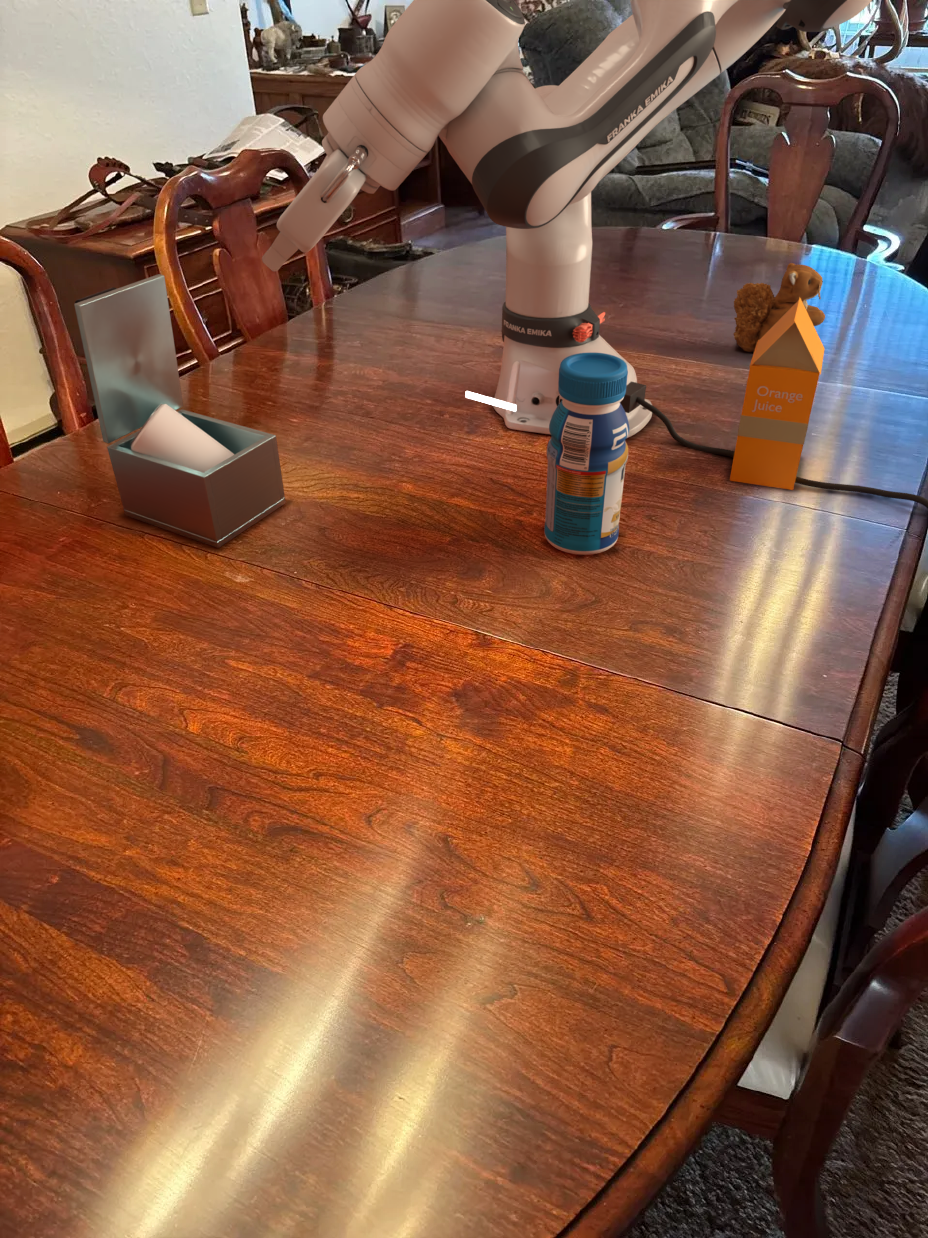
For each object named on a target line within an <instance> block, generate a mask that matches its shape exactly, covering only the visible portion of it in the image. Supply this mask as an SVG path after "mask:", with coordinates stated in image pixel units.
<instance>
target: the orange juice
mask: <svg viewBox="0 0 928 1238" xmlns="http://www.w3.org/2000/svg"><path fill="white" fill-rule="evenodd" d="M815 327H816V326H814V325H813V323H812V321H811V319H810V317H809V315H808V313H807V311H806V309H805V307H804V305H803V302H802V300H801V298H799V300H798V301H797V302H796V303H795V304H794V305H793V306H792V307H791V308H790V309H789V310H788V311H787V312H786V313H785V314H784V315H783V316H782V317H781V319H780V320H779V321H778V322H777V323H776V324H775V325H774V326H773V327H772V328H771V329H770V330H769V331H768V332H767V333H766V334H765V335H764V336H763V337H762V338H761V339H760V340H758V342H757V344H756V347H755V350H754V351H753V354H752V356H751V360H750V363H749V369H748V375H747V379H746V382H745V383H746V384H745V385H746V386H745V392H744V398H743V403H742V409H741V414H740V417H739V418H740V419H739V424H738V429H737V436H736V442H735V447H734V451H735V453H734V457H733V459H732V465H731V471H730V475H729V481H731V482H738V483H744V484H749V485H756V486H762V487H763V486H764V487H770V488H776V489H784V490H789V491H790V490H791V491H794V488H795V484H796V483H795V480H796V476H797V474H798V471H799V466H800V462H801V458H802V454H803V453H802V452H803V448H804V445H805V441H806V436H807V433H808V428H809V425H810V424H809V423H810V417H811V413H812V410H813V406H814V403H815V397H816V396H817V395H816V394H817V388H818V386H819V384H820V383H819V381H820V380H819V379H820V376H821V375H822V369H823V361H824V355H825V350H826V349H825V346H824V344H823V342H822V340H821V338H820V336H819V334H818V331H817V329H816V328H815Z"/></svg>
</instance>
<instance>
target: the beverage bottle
mask: <svg viewBox="0 0 928 1238" xmlns="http://www.w3.org/2000/svg"><path fill="white" fill-rule="evenodd" d="M627 376H628V370H627V364H626V363H625V362H624V361H623V360H622V359H620V358H618V357H616V356H613V355H609V354H604V353H579V354H574V355H571V356H568V357H566V358H565V359H563V360H562V362H561V364H560V368H559V381H558V391H559V395H560V397H561V399H562V401H561V402H560V404H559V405H558V406H557V408H556V410H555V411H554V413H553V415H552V418H551V420H550V424H549V431H550V434H549V435H550V436H551V437H550V438H549V441H548V443H547V446H546V459H547V467H546V469H547V470H546V472H547V473H546V493H545V494H546V496H545V498H546V499H545V516H544V517H545V519H544V536H545V539H546V541H547V542H548V543H549V544H550V545H551V546H552V547H554V548H555V549H556V550H559V551H561V552H564V553H567V554H571V555H578V556H591V555H596V554H600V553H603V552H606V551H608V550H610V549H611V548H612V547H614V546H615V544H616V543H617V542H618V538H619V531H620V518H621V510H622V501H623V493H624V492H623V491H624V483H625V482H624V481H625V473H626V466H627V462H628V459H629V446H628V443H627V441H626V440H627V439H628V438H629V437H628V435H629V422H628V418H627V415H626V413H625V411H624V409H623V407H622V405H621V403H620V402H621V401H622V400H623V398H624V396H625V393H626V386H627ZM627 437H628V438H627Z"/></svg>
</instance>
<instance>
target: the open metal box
mask: <svg viewBox="0 0 928 1238" xmlns="http://www.w3.org/2000/svg"><path fill="white" fill-rule="evenodd" d="M177 412H178V413H179V414H181V415H182V416H184V417H185V418H186V419H188V420H189V421H190V422H192V423H193V424H194V425H196V426H197V427H198V428H200V429H201V430H202V431H204V432H205V433H207V434H208V435H209V436H211V437H212V438H213V439H215V440H216V441H217V442H219V443H220V444H221V445H223V446H224V447H225V448H227V449H228V450H229V451H231V452H232V453H233V454H235V455H233V456H231V457H230V458H228V459H226V460H224V461H223V462H221V463H219V464H218V465H216V466H214V467H212V468H211V469H209V470H207V471H205V472H204V473H203V472H200V471H197V470H193V469H190V468H187V467H184V466H181V465H177V464H174V463H171V462H168V461H164V460H161V459H158V458H155V457H152V456H148V455H145V454H142V453H139V452H135V451H132V450H131V446H130V444H131V442H132V441H133V439H134V438H135V436H136V435H137V433H138V432H139V431H140V430H138V431H136V432H133V433H132V434H130V435H127V436H125V437H124V438H122V439H120V440H118V441H116V442H114V443H112V444H110V445H107V446H106V449H107V452H108V455H109V459H110V464H111V467H112V472H113V475H114V479H115V482H116V486H117V489H118V493H119V498H120V500H121V505H122V508H123V512H124V515H125V516H127V517H128V518H132V519H135V520H137V521H141V522H143V523H146V524H149V525H150V526H154V527H157V528H160V529H163V530H166V531H168V532H172V533H174V534H176V535H180V536H182V537H185V538H188V539H191V540H194V541H196V542H200V543H202V544H205V545H208V546H211V547H213V548H216V549H219V548H221V547H222V546H224V545H225V544H227V543H228V542H230V541H231V540H233V539H234V538H236V537H238V536H239V535H241V534H242V533H244V532H245V531H246V530H248V529H249V528H251V527H253V526H254V525H255V524H257V523H258V522H260V521H262V520H263V519H264V518H266V517H268V516H269V515H270V514H272V513H273V512H275V511H276V510H278V509H279V508H281V507H282V506H284V505H285V504H287V501H286V495H285V488H284V482H283V474H282V468H281V462H280V454H279V448H278V447H279V446H278V441H277V435H276V434H273V433H269V432H267V431H266V432H265V431H263V430H262V431H261V430H258V429H254V428H251V427H247V426H243V425H240V424H236V423H233V422H230V421H226V420H222V419H219V418H216V417H211V416H208V415H204V414H200V413H196V412H193V411H191V410H186V409H180V410H178V411H177Z"/></svg>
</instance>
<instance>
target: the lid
mask: <svg viewBox="0 0 928 1238" xmlns="http://www.w3.org/2000/svg"><path fill="white" fill-rule="evenodd" d="M166 285H167V284H166V278H165V275H164V274H161V273H159V274H155V275H153V276H150V277H147V278H144V279H141V280H138V281H135V282H132V283H129V284H127V285H124V286H121V287H119V288H117V287H109V288H107V289H104V290H101V291H98V292H96V293H93V294H90V295H87V296H84V297H81V298H78V299H76V300H75V301H74V305H73V306H74V309H75V314H76V319H77V324H78V328H79V333H80V338H81V343H82V348H83V351H84V357H85V361H86V365H87V366H86V367H87V370H88V375H89V381H90V384H91V389H92V390H91V391H92V394H93V399H94V405H95V408H96V414H97V419H98V423H99V427H100V431H101V437H102V442H103V443H106V444H111V443H113V442H114V441H116V440H118V439H121V438H122V437H126V436H128V435H129V434H131V433H134V431H137V430H140V429H141V428H142V426H143V425H144V424H145V422H146V421H147V420H148V418H149V417H150V416H151V415H152V413H153V412H154V411H155V410H156V408H157V407H158V406H159V405H160V404H162V405H163V404H167V405H168V406H170V407H171V408H173V409H174V410H175V411H177V410H179V409H180V408H183V407H184V401H183V394H182V386H181V380H180V375H179V373H180V372H179V366H178V360H177V351H176V346H175V340H174V332H173V326H172V320H171V319H172V318H171V313H170V312H171V311H170V305H169V298H168V291H167V286H166Z"/></svg>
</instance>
